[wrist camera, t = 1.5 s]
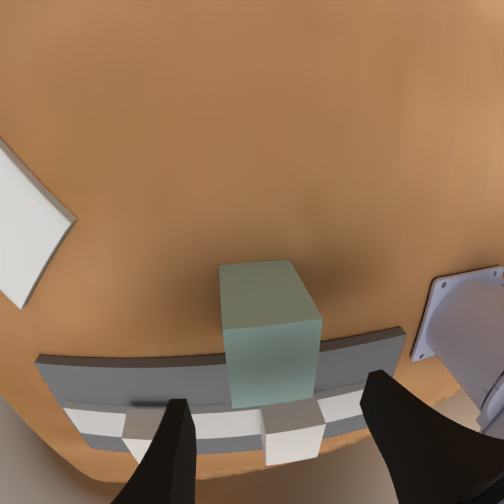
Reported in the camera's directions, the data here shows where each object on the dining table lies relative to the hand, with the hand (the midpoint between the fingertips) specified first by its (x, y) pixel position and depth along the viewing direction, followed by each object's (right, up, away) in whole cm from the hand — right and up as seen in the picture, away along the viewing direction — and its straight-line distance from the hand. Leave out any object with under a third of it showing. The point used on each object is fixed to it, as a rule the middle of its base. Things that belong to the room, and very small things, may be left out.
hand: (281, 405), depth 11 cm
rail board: (-4, -6, +11) cm, 13 cm away
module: (-1, +3, +7) cm, 8 cm away
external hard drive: (-18, +9, +3) cm, 21 cm away
